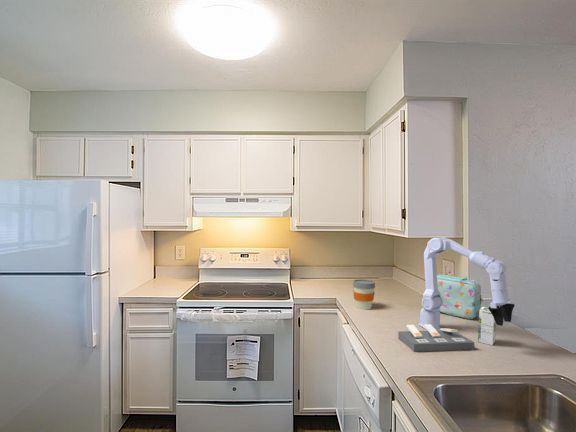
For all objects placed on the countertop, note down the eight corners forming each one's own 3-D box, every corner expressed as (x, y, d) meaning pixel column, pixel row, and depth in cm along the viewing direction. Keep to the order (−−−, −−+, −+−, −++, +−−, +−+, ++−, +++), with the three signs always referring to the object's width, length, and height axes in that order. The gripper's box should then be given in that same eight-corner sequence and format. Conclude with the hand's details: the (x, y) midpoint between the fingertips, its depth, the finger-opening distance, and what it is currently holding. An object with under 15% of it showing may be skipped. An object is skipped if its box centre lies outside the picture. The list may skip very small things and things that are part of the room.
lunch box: (484, 318, 178) (485, 278, 177) (477, 322, 171) (479, 280, 170) (433, 307, 197) (434, 270, 197) (426, 310, 190) (427, 272, 190)
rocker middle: (423, 326, 148) (423, 324, 148) (430, 325, 149) (430, 324, 148) (433, 337, 141) (433, 335, 140) (440, 337, 141) (440, 335, 141)
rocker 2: (440, 330, 149) (440, 328, 149) (447, 330, 150) (447, 328, 150) (451, 332, 141) (451, 329, 142) (458, 331, 142) (458, 329, 142)
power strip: (398, 338, 148) (398, 329, 147) (453, 336, 151) (453, 328, 151) (414, 351, 134) (414, 342, 134) (474, 349, 137) (474, 340, 137)
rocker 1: (406, 326, 147) (406, 324, 147) (413, 326, 148) (413, 324, 147) (415, 337, 140) (415, 335, 139) (422, 337, 140) (422, 335, 140)
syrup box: (480, 338, 149) (481, 306, 149) (495, 342, 145) (496, 308, 145) (477, 342, 145) (478, 308, 145) (493, 346, 141) (494, 311, 141)
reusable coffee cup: (373, 311, 186) (374, 284, 186) (351, 309, 190) (351, 282, 190) (375, 305, 198) (376, 280, 197) (354, 303, 202) (354, 278, 201)
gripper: (502, 293, 132) (506, 328, 131) (517, 288, 140) (522, 321, 139) (483, 291, 138) (487, 325, 136) (499, 287, 146) (503, 319, 145)
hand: (503, 323), depth 138 cm, fingers open, 7 cm apart
